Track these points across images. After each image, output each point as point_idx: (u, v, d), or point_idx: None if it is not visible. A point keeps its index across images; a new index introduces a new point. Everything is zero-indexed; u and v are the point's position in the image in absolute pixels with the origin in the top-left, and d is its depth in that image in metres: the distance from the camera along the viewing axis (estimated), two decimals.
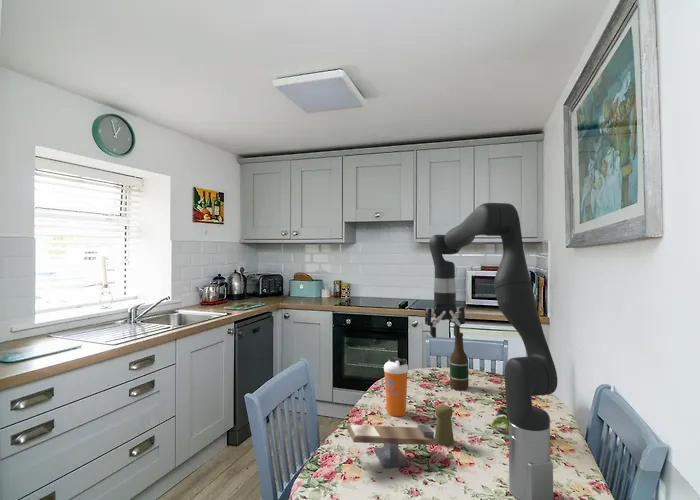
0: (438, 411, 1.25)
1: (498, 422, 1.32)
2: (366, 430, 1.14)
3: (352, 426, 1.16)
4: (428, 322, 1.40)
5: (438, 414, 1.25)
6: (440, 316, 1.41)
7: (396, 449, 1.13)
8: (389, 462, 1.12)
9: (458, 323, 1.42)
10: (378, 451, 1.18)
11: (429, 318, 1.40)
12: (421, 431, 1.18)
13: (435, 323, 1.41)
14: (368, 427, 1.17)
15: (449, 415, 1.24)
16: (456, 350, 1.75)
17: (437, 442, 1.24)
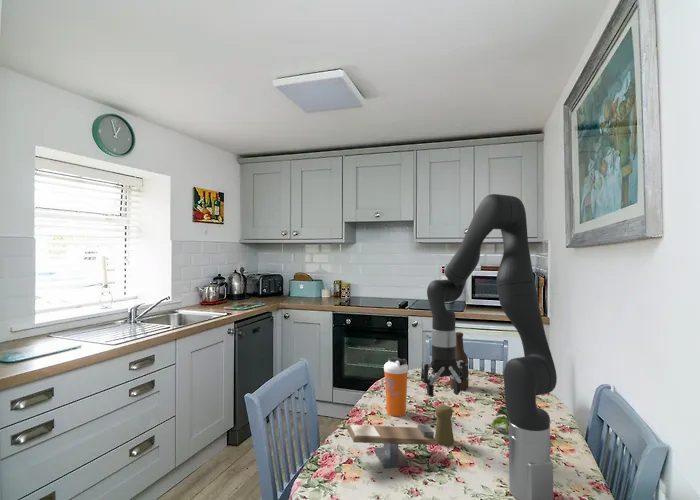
0: (438, 411, 1.25)
1: (498, 422, 1.32)
2: (366, 430, 1.14)
3: (352, 426, 1.16)
4: (424, 380, 1.24)
5: (438, 414, 1.25)
6: (438, 373, 1.24)
7: (396, 449, 1.13)
8: (389, 462, 1.12)
9: (458, 380, 1.26)
10: (378, 451, 1.18)
11: (426, 375, 1.24)
12: (421, 431, 1.18)
13: (432, 381, 1.24)
14: (368, 427, 1.17)
15: (449, 415, 1.24)
16: (456, 350, 1.75)
17: (437, 442, 1.24)
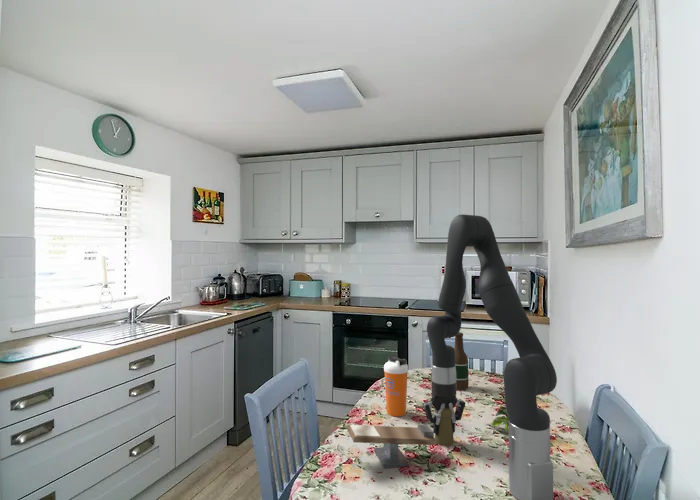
0: None
1: (498, 422, 1.32)
2: (366, 430, 1.14)
3: (352, 426, 1.16)
4: (431, 419, 1.24)
5: None
6: (440, 411, 1.24)
7: (396, 449, 1.13)
8: (389, 462, 1.12)
9: (453, 420, 1.25)
10: (378, 451, 1.18)
11: (430, 415, 1.24)
12: (421, 431, 1.18)
13: (438, 420, 1.24)
14: (368, 427, 1.17)
15: (449, 415, 1.24)
16: (456, 350, 1.75)
17: (437, 442, 1.24)
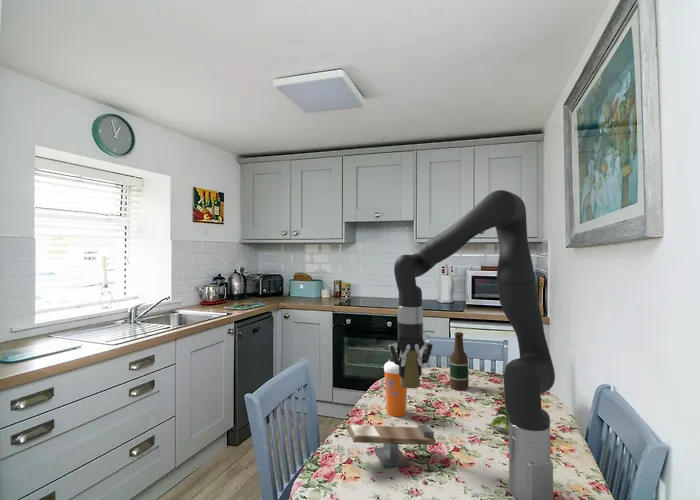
0: None
1: (497, 422, 1.33)
2: (366, 430, 1.14)
3: (352, 426, 1.16)
4: (396, 361, 1.19)
5: None
6: None
7: (396, 449, 1.13)
8: (389, 462, 1.12)
9: (419, 362, 1.21)
10: (378, 451, 1.18)
11: (395, 357, 1.19)
12: (421, 431, 1.18)
13: (403, 361, 1.20)
14: (368, 427, 1.17)
15: (415, 356, 1.19)
16: (456, 350, 1.75)
17: (402, 385, 1.20)
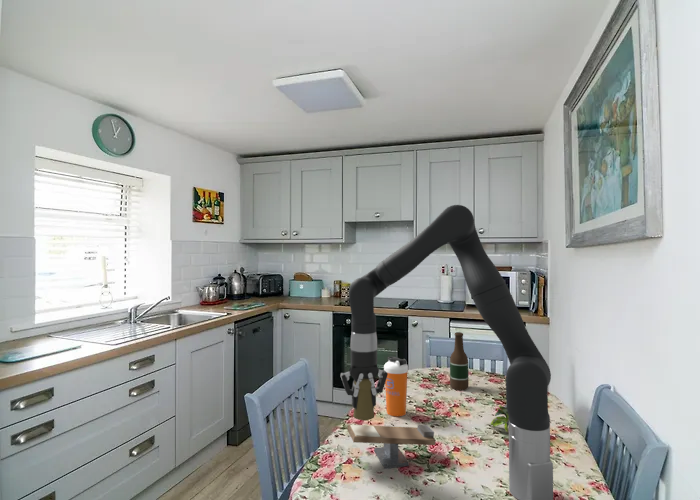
0: None
1: (497, 422, 1.33)
2: (366, 430, 1.14)
3: (352, 426, 1.16)
4: (348, 391, 1.12)
5: None
6: (358, 381, 1.12)
7: (396, 449, 1.13)
8: (389, 462, 1.12)
9: (373, 392, 1.14)
10: (378, 451, 1.18)
11: (347, 386, 1.12)
12: (421, 431, 1.18)
13: (356, 391, 1.13)
14: (368, 427, 1.17)
15: (368, 386, 1.12)
16: (456, 350, 1.75)
17: (355, 416, 1.13)
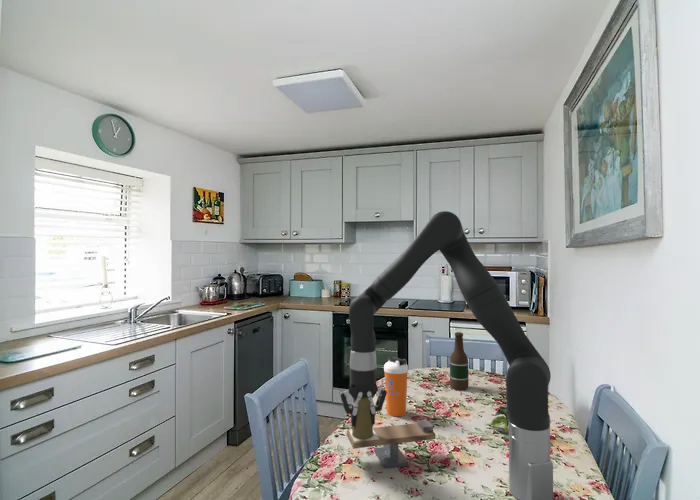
0: None
1: (497, 422, 1.33)
2: None
3: (351, 432, 1.16)
4: (347, 409, 1.12)
5: None
6: (357, 400, 1.12)
7: (396, 449, 1.13)
8: (389, 462, 1.12)
9: (372, 410, 1.14)
10: (378, 451, 1.18)
11: (346, 405, 1.12)
12: (420, 426, 1.18)
13: (355, 410, 1.12)
14: None
15: (367, 405, 1.12)
16: (456, 350, 1.75)
17: (354, 435, 1.13)
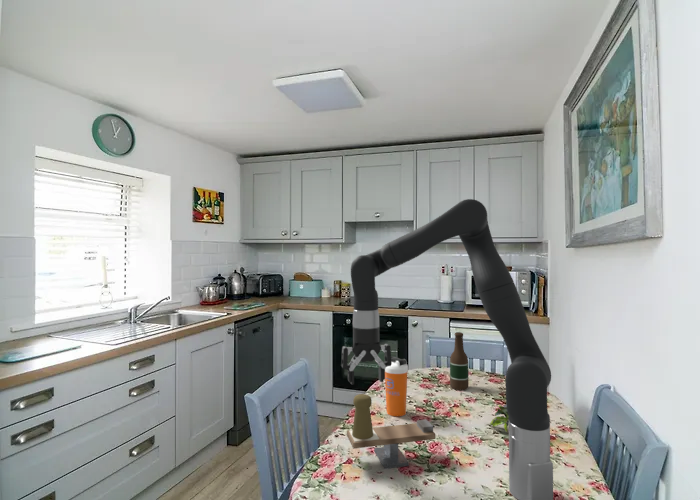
0: (355, 401, 1.13)
1: (497, 422, 1.33)
2: None
3: (351, 432, 1.16)
4: (344, 365, 1.12)
5: (355, 403, 1.13)
6: (359, 357, 1.13)
7: (396, 449, 1.13)
8: (389, 462, 1.12)
9: (383, 365, 1.15)
10: (378, 451, 1.18)
11: (345, 360, 1.12)
12: (420, 426, 1.18)
13: (353, 366, 1.13)
14: None
15: (366, 405, 1.12)
16: (456, 350, 1.75)
17: (354, 435, 1.13)
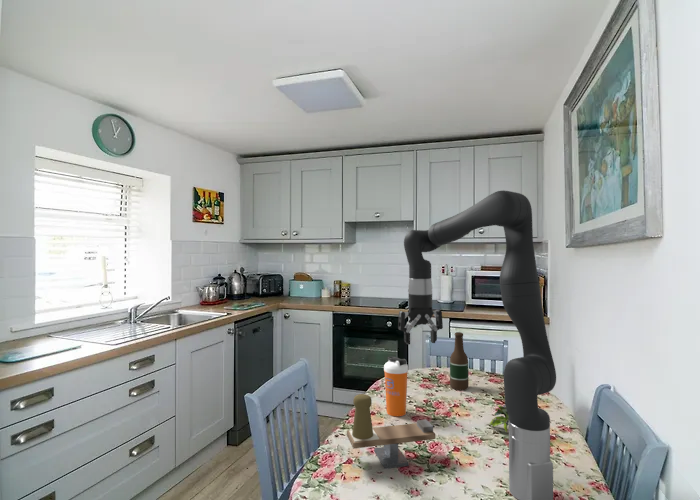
0: (355, 401, 1.13)
1: (496, 422, 1.33)
2: None
3: (351, 432, 1.16)
4: (401, 327, 1.26)
5: (355, 403, 1.13)
6: (415, 320, 1.27)
7: (396, 449, 1.13)
8: (389, 462, 1.12)
9: (435, 328, 1.29)
10: (378, 451, 1.18)
11: (402, 323, 1.26)
12: (420, 426, 1.18)
13: (409, 328, 1.27)
14: None
15: (366, 405, 1.12)
16: (456, 350, 1.75)
17: (354, 435, 1.13)
